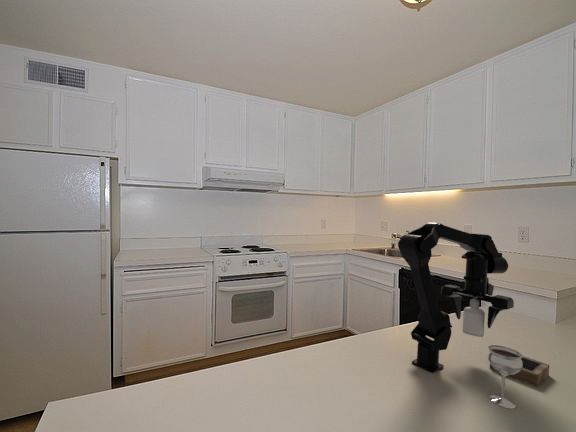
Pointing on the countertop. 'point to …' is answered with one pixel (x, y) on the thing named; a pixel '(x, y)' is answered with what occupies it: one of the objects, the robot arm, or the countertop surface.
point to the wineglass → (504, 369)
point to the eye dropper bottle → (473, 319)
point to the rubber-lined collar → (531, 371)
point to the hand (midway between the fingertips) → (473, 323)
